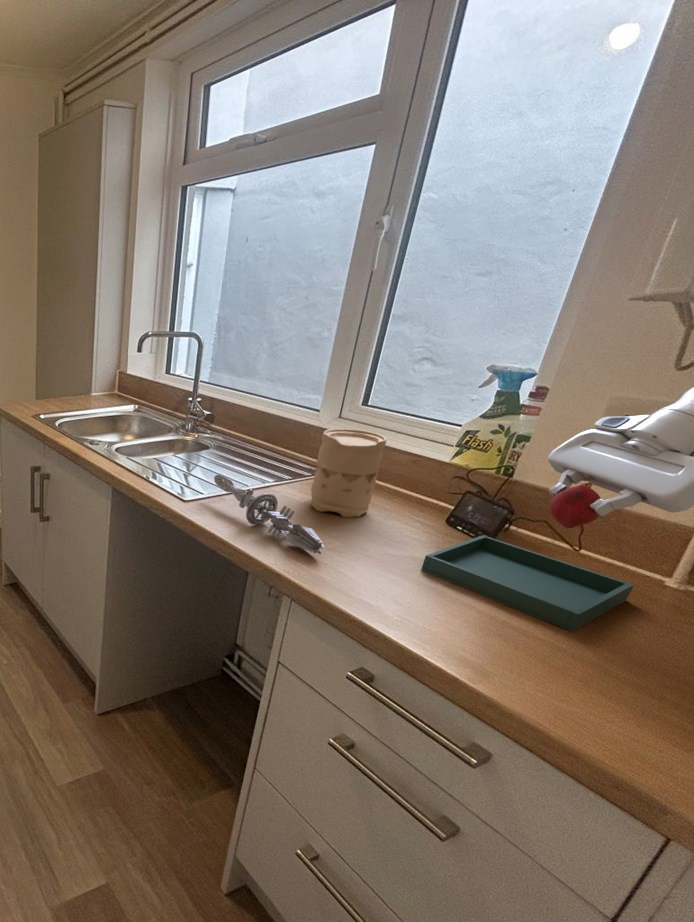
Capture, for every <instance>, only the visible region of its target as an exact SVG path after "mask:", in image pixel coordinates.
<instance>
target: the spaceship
mask: <svg viewBox="0 0 694 922" xmlns="http://www.w3.org/2000/svg"><path fill="white" fill-rule="evenodd" d="M213 481H214V483H215V484H216V486H217V487H219V488H220V489H221V490H222V491H224V492H225V493H231V494H232V495H233V496H234V497H235V499H236V500H237V501H238V502H239V503H238V506H239V508H241V509H245V507H246V512H245V516H246V517H245V518H246V520H247V522H248V523H249V524H250V525H254V526H259V525H263V524H265V523H266V524H268V525H269V526H270V527H269V529H268V530H267V534H270V536H271V537H274V539H278V538H279V537H280V536H281V534H283V533H284V534H285V533H286V534H285V538H286V542H287V544H289V545H290V544H291V545H293V546H296V547H298V548H301V549H304V550H306V551H309V552H312V553H313V554H319V555H321V554H322V552H321V551H320V549H322V550H323V549H325V548H326V546H325V544H324V543H323V541H322V539H321V537H319V536H318V534H317V533H316V531H315V530H314V529H313V528H311V527H305V526H302V525H301V524H299V523H296V521H294V520H293V519H292V517H293V515H294V514H295V511H294V510H292V509H291V508H290V507H288V506H287V505H284V506H283V507H282V508H281V509H280V510H279V511H277V509H278V506H279V505H278V504H279V502H278V498H277V496H276V495H275V494H273V493H269V492H266V493H262V494H259V495H257V496H255V495H253V494H254V490H253V489H252V488H247V490H245V489H242V488H238V487H237V486H236V485H235V483H234V481H232V480H231V479H230V478H228V477H227V476H225V475H223V474H216V475H215V476H214V477H213ZM267 504H268V505H267ZM269 520H270V522H271V523H272V524H271V523H269V522H268V521H269ZM289 520H290V521H293V522H294V523H293V524H292V523H291V522H290V521H289Z"/></svg>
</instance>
